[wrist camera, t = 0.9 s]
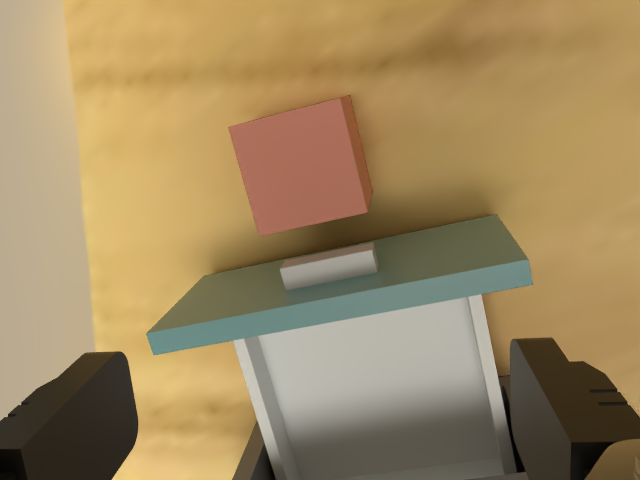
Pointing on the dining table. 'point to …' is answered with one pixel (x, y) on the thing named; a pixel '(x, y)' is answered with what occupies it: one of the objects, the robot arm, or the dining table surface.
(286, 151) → the block
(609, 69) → the dining table surface
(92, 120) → the dining table surface
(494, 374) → the drawer
